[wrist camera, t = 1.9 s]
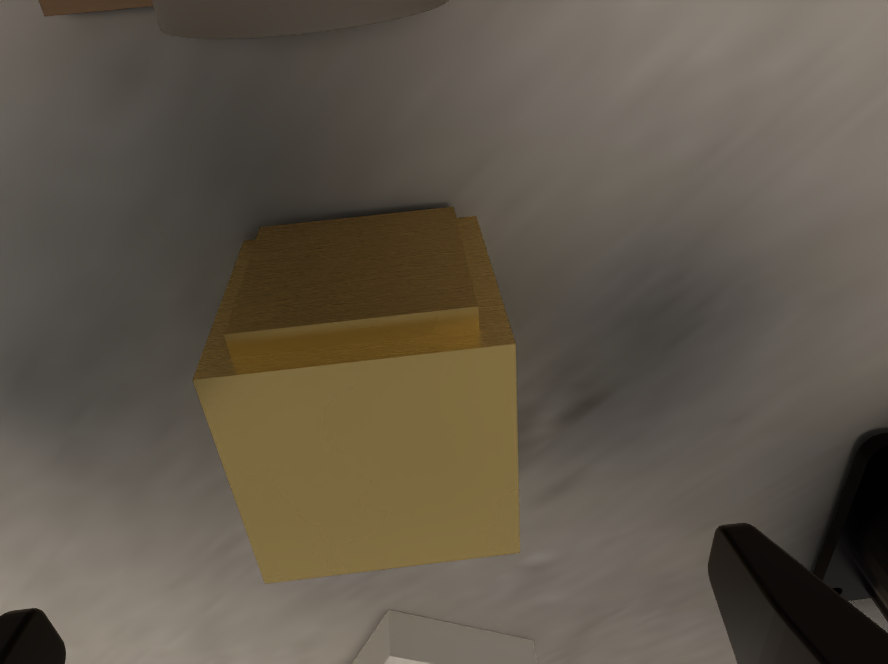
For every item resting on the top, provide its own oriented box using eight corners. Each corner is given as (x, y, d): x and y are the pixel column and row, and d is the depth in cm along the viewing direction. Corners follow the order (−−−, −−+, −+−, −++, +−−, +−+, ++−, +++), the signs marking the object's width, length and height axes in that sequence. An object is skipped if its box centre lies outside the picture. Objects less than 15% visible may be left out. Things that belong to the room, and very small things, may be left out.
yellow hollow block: (486, 407, 16) (520, 567, 12) (294, 429, 16) (269, 597, 12) (474, 195, 13) (515, 320, 9) (239, 219, 13) (184, 356, 9)
